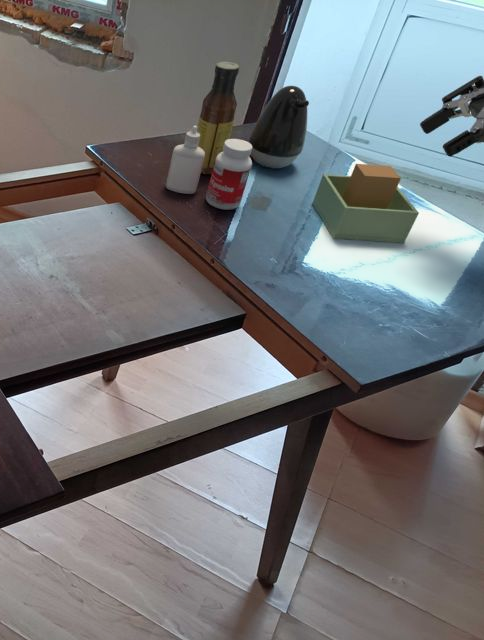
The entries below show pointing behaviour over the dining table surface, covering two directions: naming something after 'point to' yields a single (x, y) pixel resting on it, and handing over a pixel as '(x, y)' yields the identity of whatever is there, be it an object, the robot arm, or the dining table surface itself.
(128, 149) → the dining table surface
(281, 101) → the black bird figurine
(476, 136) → the robot arm
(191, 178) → the eye dropper bottle
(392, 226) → the open box
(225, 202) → the pill bottle
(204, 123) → the sauce bottle
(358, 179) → the block
